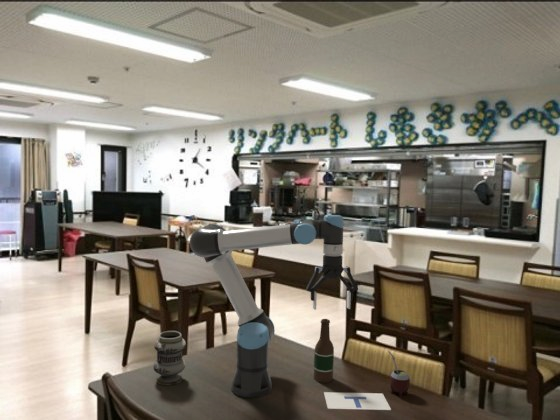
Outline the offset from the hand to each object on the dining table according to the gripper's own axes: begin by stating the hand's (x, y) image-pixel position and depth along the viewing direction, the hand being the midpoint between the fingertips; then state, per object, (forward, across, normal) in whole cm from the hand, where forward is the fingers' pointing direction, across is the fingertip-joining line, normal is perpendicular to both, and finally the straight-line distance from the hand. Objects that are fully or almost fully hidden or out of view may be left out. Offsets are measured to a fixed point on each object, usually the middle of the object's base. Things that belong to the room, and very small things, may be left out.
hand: (331, 308), depth 178 cm
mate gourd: (+29, +23, -13) cm, 39 cm away
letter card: (+29, +5, -18) cm, 34 cm away
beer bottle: (+29, -2, +1) cm, 29 cm away
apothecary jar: (+28, -63, +4) cm, 69 cm away
